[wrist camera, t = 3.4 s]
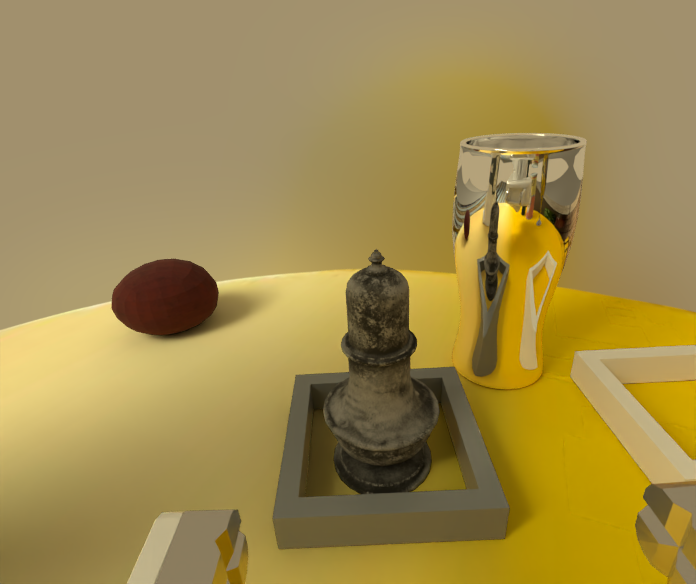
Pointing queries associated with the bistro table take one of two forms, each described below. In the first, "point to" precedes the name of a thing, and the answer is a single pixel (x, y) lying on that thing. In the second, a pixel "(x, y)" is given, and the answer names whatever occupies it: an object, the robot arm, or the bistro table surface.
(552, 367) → the bistro table surface
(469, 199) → the beer glass
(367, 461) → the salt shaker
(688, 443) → the bistro table surface
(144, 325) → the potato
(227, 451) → the bistro table surface
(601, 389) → the pale socket
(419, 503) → the dark socket
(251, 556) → the bistro table surface
